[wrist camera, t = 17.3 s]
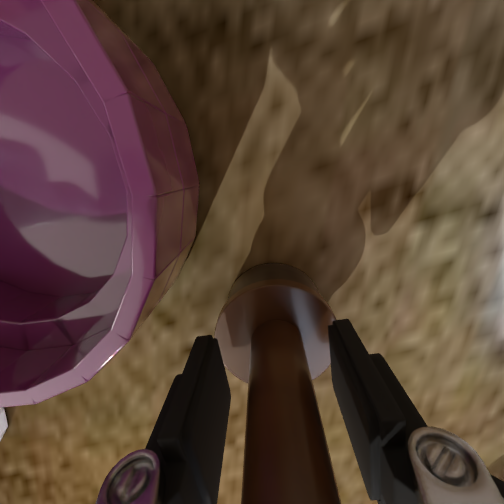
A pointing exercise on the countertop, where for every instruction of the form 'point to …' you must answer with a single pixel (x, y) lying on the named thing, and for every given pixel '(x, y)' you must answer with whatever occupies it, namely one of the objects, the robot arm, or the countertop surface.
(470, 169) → the countertop surface
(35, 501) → the countertop surface
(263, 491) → the dish brush
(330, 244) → the countertop surface
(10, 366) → the bowl
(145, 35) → the countertop surface
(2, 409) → the white cup
